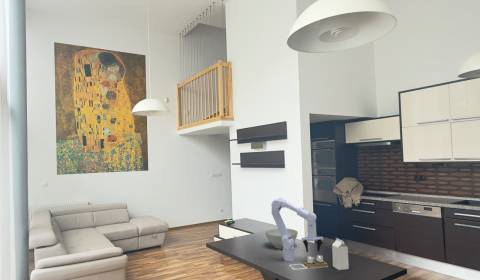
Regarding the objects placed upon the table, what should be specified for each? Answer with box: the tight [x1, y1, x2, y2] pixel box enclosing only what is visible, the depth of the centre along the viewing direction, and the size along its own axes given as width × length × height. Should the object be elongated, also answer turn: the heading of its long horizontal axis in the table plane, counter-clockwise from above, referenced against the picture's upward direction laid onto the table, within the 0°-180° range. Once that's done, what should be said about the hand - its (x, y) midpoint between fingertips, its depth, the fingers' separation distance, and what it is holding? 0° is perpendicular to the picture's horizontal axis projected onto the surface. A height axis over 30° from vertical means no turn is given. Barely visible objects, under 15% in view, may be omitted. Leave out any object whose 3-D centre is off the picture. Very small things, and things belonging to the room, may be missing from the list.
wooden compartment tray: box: [303, 260, 329, 270], centre depth 203 cm, size 8×14×3 cm, turn 101°
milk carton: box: [331, 237, 350, 271], centre depth 199 cm, size 7×7×19 cm
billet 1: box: [306, 255, 314, 265], centre depth 202 cm, size 4×4×6 cm
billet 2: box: [316, 254, 324, 264], centre depth 204 cm, size 4×4×6 cm
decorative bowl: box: [264, 227, 299, 250], centre depth 255 cm, size 27×27×12 cm
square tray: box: [288, 263, 308, 271], centre depth 202 cm, size 9×9×2 cm
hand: (312, 251), depth 210 cm, fingers open, 7 cm apart
